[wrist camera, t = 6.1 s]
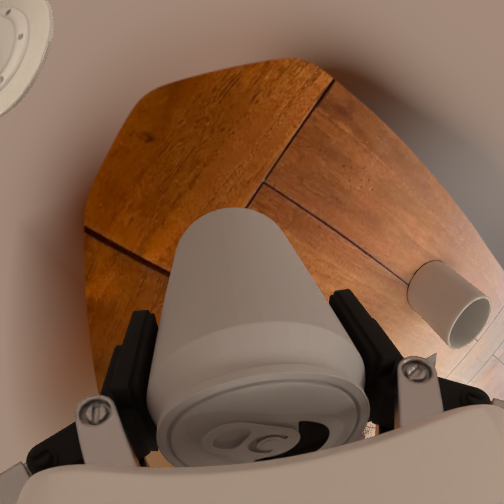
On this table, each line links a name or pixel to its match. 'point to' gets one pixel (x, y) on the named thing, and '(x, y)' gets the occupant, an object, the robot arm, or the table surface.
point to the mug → (448, 304)
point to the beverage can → (249, 351)
